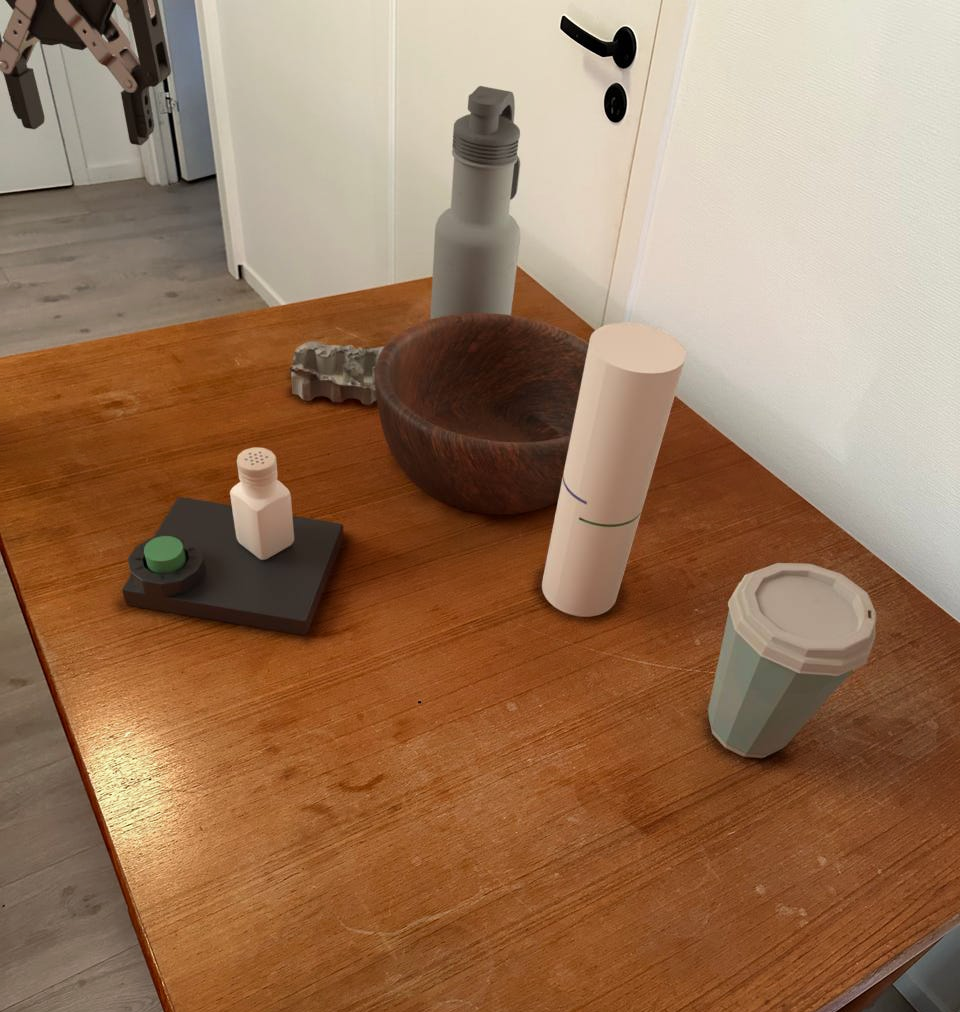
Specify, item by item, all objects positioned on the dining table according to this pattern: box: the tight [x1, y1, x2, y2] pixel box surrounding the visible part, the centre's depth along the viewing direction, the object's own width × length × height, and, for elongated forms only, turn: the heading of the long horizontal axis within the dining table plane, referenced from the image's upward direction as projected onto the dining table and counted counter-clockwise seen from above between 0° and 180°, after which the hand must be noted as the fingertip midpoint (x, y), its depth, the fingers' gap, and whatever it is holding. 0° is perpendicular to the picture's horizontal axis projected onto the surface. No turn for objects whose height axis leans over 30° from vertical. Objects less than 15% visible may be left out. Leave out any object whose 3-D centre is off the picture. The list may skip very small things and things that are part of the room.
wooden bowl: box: [374, 313, 589, 515], centre depth 93 cm, size 25×25×10 cm
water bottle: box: [429, 85, 521, 320], centre depth 102 cm, size 10×10×28 cm
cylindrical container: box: [541, 321, 687, 618], centre depth 75 cm, size 7×7×25 cm
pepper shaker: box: [229, 447, 294, 560], centre depth 78 cm, size 4×4×10 cm
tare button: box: [144, 536, 186, 574], centre depth 77 cm, size 3×3×2 cm
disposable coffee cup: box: [707, 562, 877, 759], centre depth 70 cm, size 11×11×15 cm
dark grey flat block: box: [121, 496, 344, 637], centre depth 81 cm, size 16×13×4 cm
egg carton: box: [289, 340, 385, 406], centre depth 102 cm, size 11×8×4 cm
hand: (87, 133), depth 70 cm, fingers open, 8 cm apart
